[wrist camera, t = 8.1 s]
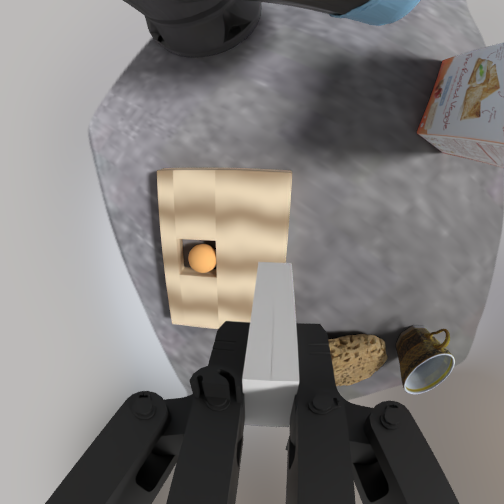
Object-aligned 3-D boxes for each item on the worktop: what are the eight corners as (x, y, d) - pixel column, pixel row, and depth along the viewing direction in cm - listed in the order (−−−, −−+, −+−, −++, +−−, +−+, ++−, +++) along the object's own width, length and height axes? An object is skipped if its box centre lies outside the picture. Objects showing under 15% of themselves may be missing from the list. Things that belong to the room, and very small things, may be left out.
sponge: (265, 360, 49) (360, 389, 46) (256, 384, 42) (364, 415, 39) (289, 300, 46) (391, 334, 43) (283, 318, 39) (402, 356, 36)
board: (163, 168, 35) (156, 170, 33) (290, 170, 34) (292, 173, 32) (176, 314, 45) (172, 323, 43) (278, 323, 44) (278, 333, 42)
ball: (202, 252, 35) (222, 243, 38) (181, 245, 37) (201, 238, 40) (204, 280, 36) (223, 270, 39) (183, 272, 38) (202, 263, 41)
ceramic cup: (420, 356, 46) (437, 391, 37) (380, 357, 46) (394, 396, 37) (447, 304, 40) (472, 337, 31) (405, 302, 41) (429, 339, 32)
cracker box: (439, 58, 25) (536, 32, 6) (467, 82, 25) (565, 76, 6) (412, 132, 30) (522, 145, 11) (442, 154, 31) (549, 186, 12)
